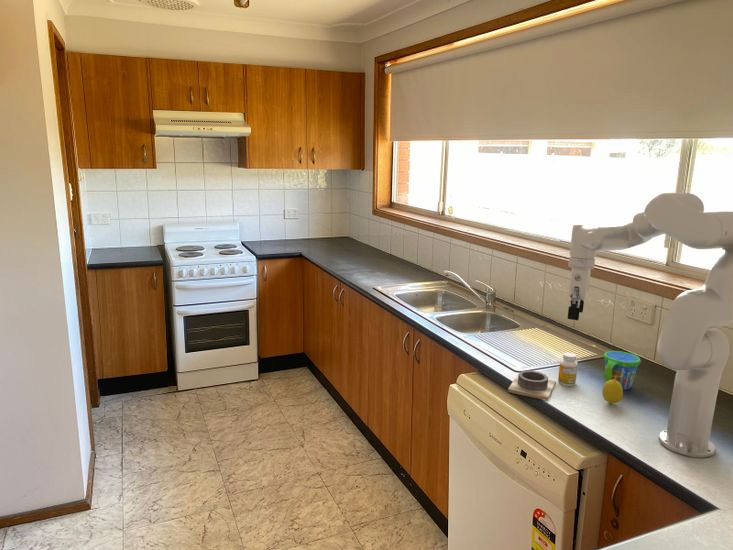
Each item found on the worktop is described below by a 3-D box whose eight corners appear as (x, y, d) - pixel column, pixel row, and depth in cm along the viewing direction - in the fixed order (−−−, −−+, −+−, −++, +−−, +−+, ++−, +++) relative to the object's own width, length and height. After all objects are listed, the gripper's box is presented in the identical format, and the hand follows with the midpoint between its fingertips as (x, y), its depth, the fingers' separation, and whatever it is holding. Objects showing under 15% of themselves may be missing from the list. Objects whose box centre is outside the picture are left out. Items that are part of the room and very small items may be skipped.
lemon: (624, 404, 165) (627, 379, 164) (616, 410, 162) (619, 384, 160) (605, 398, 169) (608, 374, 167) (597, 404, 165) (600, 379, 164)
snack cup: (618, 375, 187) (622, 347, 185) (648, 387, 178) (652, 357, 176) (588, 384, 179) (592, 355, 177) (617, 397, 171) (621, 366, 168)
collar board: (547, 400, 167) (549, 388, 166) (507, 391, 172) (508, 379, 171) (555, 384, 179) (556, 372, 178) (517, 376, 184) (519, 365, 184)
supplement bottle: (559, 378, 184) (562, 350, 182) (576, 381, 181) (580, 353, 179) (556, 383, 179) (559, 355, 177) (573, 387, 177) (577, 358, 175)
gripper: (591, 269, 162) (584, 324, 166) (597, 259, 177) (591, 310, 181) (564, 265, 166) (558, 320, 170) (572, 256, 181) (567, 307, 184)
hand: (575, 315), depth 175 cm, fingers open, 9 cm apart
